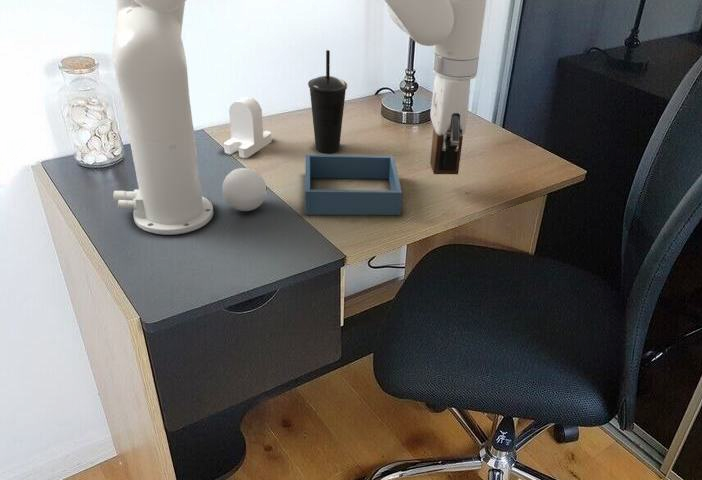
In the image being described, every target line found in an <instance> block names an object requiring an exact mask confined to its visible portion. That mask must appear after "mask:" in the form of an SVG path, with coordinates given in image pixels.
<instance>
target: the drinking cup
mask: <svg viewBox="0 0 702 480" xmlns="http://www.w3.org/2000/svg"><path fill="white" fill-rule="evenodd" d="M330 63H331V51H330V50H328V49H327V50H326V51H325V75H322V76H317V77H314V78H311V79H310V80H309V81H308V82H307V86H308V88H309V94H310V104H311V105H310V106H311V115H312V124H313V133H314V135H313V136H314V143H315V150H316V151H318V152H319V153H324V154H334V153H337V152H339V150H340V146H341V145H340V143H341V135H342V127H343V116H344V108H345V100H346V91H347V89H348V83H347V82H346V80H343V79H341V78H338V77H336V76H333V75H331V74H330V73H331V72H330V71H331V70H330V69H331V64H330Z"/></svg>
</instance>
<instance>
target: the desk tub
mask: <svg viewBox="0 0 702 480" xmlns="http://www.w3.org/2000/svg"><path fill="white" fill-rule="evenodd" d="M304 173H305V174H304V175H305V179H304V203H305V206H304V207H305V208H304V209H305V215H306V216H307V215H315V216H316V215H318V216H319V215H321V216H323V215H324V216H326V215H327V216H331V215H334V216H335V215H336V216H401V212H402V200H403V191H402V187H401V181H400V177H399V174H398V169H397V163H396V160H395V156H394V155H352V154H351V155H348V154H347V155H345V154H305V171H304ZM311 179H358V180H360V179H363V180H364V179H365V180H366V179H367V180H388V183H389V187H390V190H379V189H377V190H376V189H375V190H373V189H372V190H371V189H369V190H368V189H365V190H364V189H311Z"/></svg>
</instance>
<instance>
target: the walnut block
mask: <svg viewBox="0 0 702 480" xmlns="http://www.w3.org/2000/svg"><path fill="white" fill-rule="evenodd" d="M432 129H433V130H432V139H431V150H430V158H429V160H430V161H429V164H430V167H431V171H432V174H433V175H459V171H460V170H459V169H460V163H461V156H462V149H463V148H462V147H463V139H464V135H462V136H460V135H459V145H458V156H457V164H456V170H454V171H451V170H439V169H438V164H439V155H440V149H442V139H443V135H442V134H441V136H439V135H438V134H437V133H436V131H435V129H434V127H433V128H432ZM446 133H451V130H447V132H446ZM450 138H451V137H447V141H448V140H450ZM447 141H446V143H447Z"/></svg>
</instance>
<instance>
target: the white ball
mask: <svg viewBox="0 0 702 480" xmlns="http://www.w3.org/2000/svg"><path fill="white" fill-rule="evenodd" d="M266 184H267V183H266V181H265V180H264V178H263V177H262V175H261V174H260V173H259V172H257V171H256V170H254V169H252V168H248V167H240V168H235V169H233V170H232V171H230V172H229V173H228V174H227V173H226V176H225V178H224V180H223V183H222V187H221V192H222V195H223V198H224V201H225V202H227V204H228V205H229V206H230V207H231V208H232V209H235V210H237V211H240V212H250V211H253V210H256V209H258V208H259V207H260V206H261V205H262V204H263V202H264V201H265V199H266V195H267V191H268V187H267V185H266Z"/></svg>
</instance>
